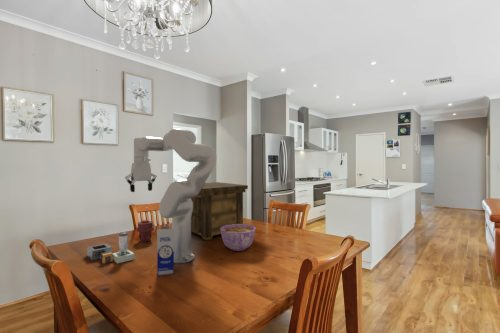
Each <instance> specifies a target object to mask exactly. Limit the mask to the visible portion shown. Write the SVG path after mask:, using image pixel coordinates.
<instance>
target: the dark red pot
mask: <svg viewBox="0 0 500 333" xmlns="http://www.w3.org/2000/svg"><path fill="white" fill-rule="evenodd" d="M154 229H155V227H154V226H153V221H151V220H148V219H143V220H141V221H139V222H137V227H136V232H138V240H139V242H141V243H143V242H151V239H152V231H154Z"/></svg>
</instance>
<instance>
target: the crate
mask: <svg viewBox="0 0 500 333" xmlns="http://www.w3.org/2000/svg"><path fill="white" fill-rule="evenodd" d="M248 188H249V187H248V185H247V184H238V183H237V184H236V183H228V182H217V181H216V182H205V184H204V185H203V187H202V189H201V190H200V192H199V194H198V195H197V196H196V197H194V198H191V200H192V202H193V211H192V217H191V234H192V233H194V234H197V235H199V236H200V237H201V238H202V239H203V240H205V241H208V240H213V236H216V235H217V236H218V235H221V230H220V228H221V227H223V226H225V225H230V224H244V198H243V197H244V193H246V190H248Z"/></svg>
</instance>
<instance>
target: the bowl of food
mask: <svg viewBox="0 0 500 333" xmlns="http://www.w3.org/2000/svg"><path fill="white" fill-rule="evenodd" d="M256 228H257V227H256V226H254V225H251V224H244V223H243V224H230V225H225V226H223V227H221V228H220V230H221V234H220V235H221V239H222V241H223V242H222V243H223V244H224V246H226V248H229V249H230V250H231V251H235V252H240V251H241V252H242V251H245V250H246V249H248V248H250V246H251V245H252V244H253V242H254V237H255V235H256V234H255V233H256Z"/></svg>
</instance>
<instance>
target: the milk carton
mask: <svg viewBox="0 0 500 333" xmlns="http://www.w3.org/2000/svg"><path fill="white" fill-rule="evenodd" d="M156 244H157V245H156V248H157V250H156V252H157V254H156V255H157V257H156V258H157V262H156V263H157V264H156V266H157V268H156V269H157V271H156V272H157V274H156V275H157V276H158V277H159V276H166V275H174V274H175V272H174V271H175V268H174V267H175V263H174V228H172V227H171V228H170V226H162V228H159V229H156Z"/></svg>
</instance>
